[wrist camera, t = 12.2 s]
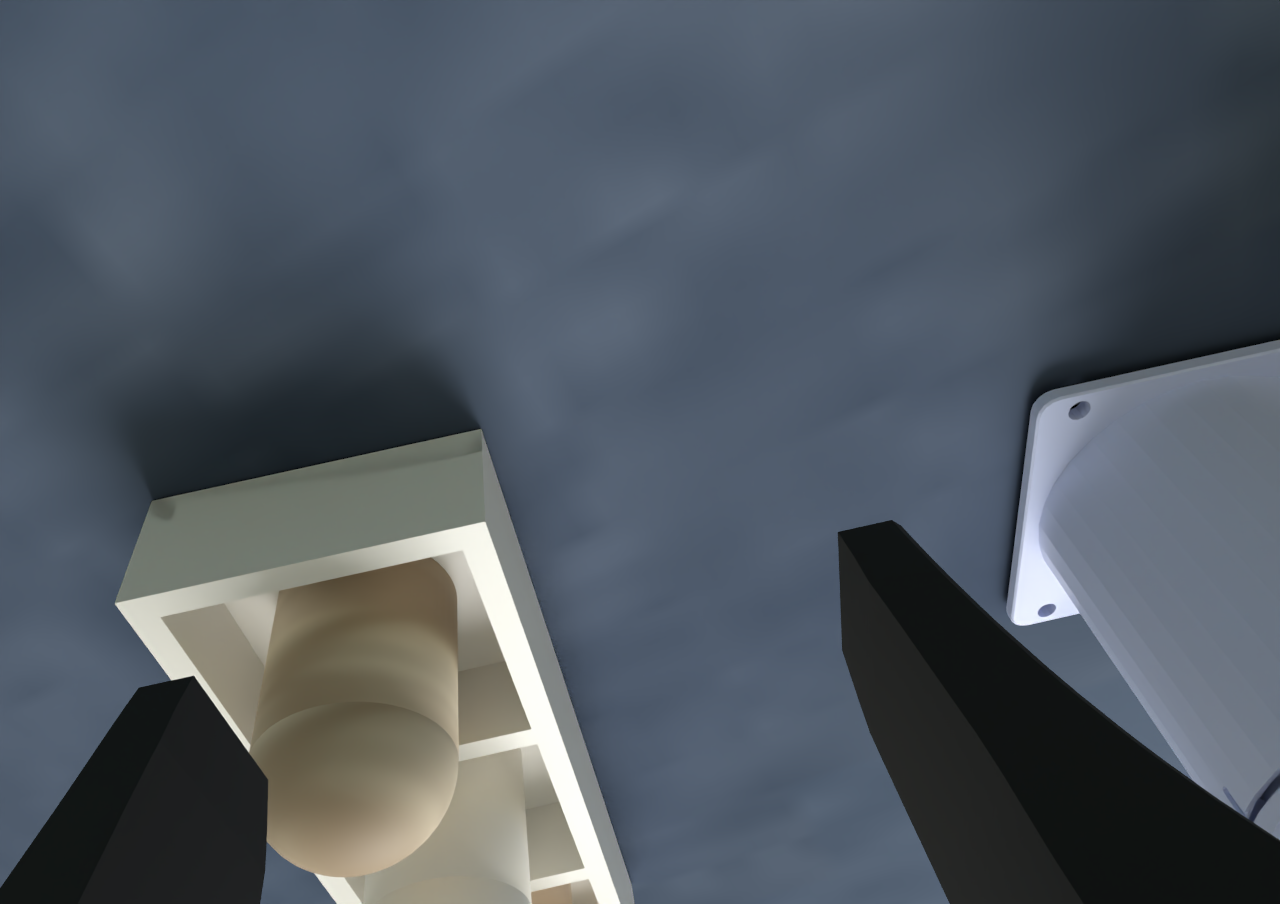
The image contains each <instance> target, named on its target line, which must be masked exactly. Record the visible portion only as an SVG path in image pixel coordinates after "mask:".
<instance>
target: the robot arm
mask: <svg viewBox="0 0 1280 904" xmlns="http://www.w3.org/2000/svg"><path fill="white" fill-rule="evenodd" d="M1079 402H1080V404H1079V405H1078V406H1076V407H1075V408H1073V409H1071V410H1070V408H1071V407H1072V406H1074V405H1075V404H1076V403H1079ZM838 547H839V574H840V601H841V628H842V651H843V654H844V657H845V660H846V663H847V666H848V669H849V672H850V675H851V678H852V681H853V684H854V687H855V690H856V693H857V696H858V699H859V702H860V705H861V708H862V711H863V713H864V716H865V719H866V722H867V725H868V728H869V731H870V733H871V736H872V738H873V740H874V742H875V744H876V747H877V749H878V751H879V753H880V755H881V758H882V760H883V762H884V764H885V766H886V768H887V770H888V773H889V775H890V777H891V779H892V781H893V783H894V786H895V788H896V790H897V792H898V794H899V796H900V799H901V801H902V803H903V805H904V807H905V809H906V811H907V813H908V816H909V818H910V820H911V822H912V824H913V826H914V828H915V830H916V833H917V835H918V837H919V839H920V841H921V843H922V845H923V848H924V850H925V852H926V854H927V856H928V858H929V860H930V862H931V865H932V867H933V869H934V871H935V873H936V875H937V877H938V879H939V882H940V884H941V886H942V888H943V890H944V892H945V894H946V897H947V899H948V901H949V903H950V904H1280V340H1276V341H1271V342H1267V343H1262V344H1258V345H1253V346H1249V347H1244V348H1240V349H1235V350H1231V351H1226V352H1221V353H1217V354H1212V355H1208V356H1203V357H1199V358H1194V359H1190V360H1185V361H1181V362H1176V363H1172V364H1167V365H1163V366H1158V367H1153V368H1149V369H1144V370H1140V371H1135V372H1131V373H1126V374H1122V375H1117V376H1113V377H1108V378H1104V379H1099V380H1095V381H1090V382H1086V383H1081V384H1076V385H1072V386H1067V387H1063V388H1058V389H1054V390H1051V391H1049V392H1046V393H1044V394H1043V395H1041V396H1040V397H1039V398H1038V399H1037V400H1036V401H1035V403H1034V404H1033V406H1032V409H1031V413H1030V421H1029V429H1028V437H1027V445H1026V454H1025V462H1024V470H1023V478H1022V486H1021V494H1020V502H1019V510H1018V518H1017V526H1016V534H1015V543H1014V551H1013V559H1012V567H1011V575H1010V583H1009V591H1008V599H1007V607H1006V610H1007V614H1008V616H1009V617H1010V619H1011V621H1012V622H1013V623H1014V624H1016V625H1021V626H1022V625H1030V624H1034V623H1039V622H1043V621H1048V620H1052V619H1057V618H1061V617H1065V616H1070V615H1074V614H1079V613H1080V614H1081V616H1082V617H1083V619H1084V620H1085V621H1086V623H1087V624H1088V626H1089V627H1090V629H1091V630H1092V632H1093V633H1094V635H1095V636H1096V638H1097V639H1098V641H1099V642H1100V644H1101V645H1102V647H1103V648H1104V650H1105V651H1106V652H1107V654H1108V655H1109V657H1110V658H1111V660H1112V661H1113V663H1114V664H1115V666H1116V667H1117V669H1118V670H1119V672H1120V673H1121V675H1122V676H1123V678H1124V679H1125V681H1126V682H1127V684H1128V685H1129V686H1130V688H1131V689H1132V691H1133V692H1134V694H1135V695H1136V697H1137V698H1138V700H1139V701H1140V703H1141V704H1142V706H1143V707H1144V709H1145V710H1146V712H1147V713H1148V715H1149V716H1150V717H1151V719H1152V720H1153V722H1154V723H1155V725H1156V726H1157V728H1158V729H1159V731H1160V732H1161V734H1162V735H1163V737H1164V738H1165V740H1166V741H1167V743H1168V744H1169V746H1170V747H1171V748H1172V750H1173V751H1174V753H1175V754H1176V756H1177V757H1178V759H1179V760H1180V762H1181V763H1182V765H1183V766H1184V768H1185V769H1186V771H1187V772H1188V774H1189V775H1190V777H1191V778H1192V779H1193V781H1192V780H1191V779H1189V778H1188V777H1187V776H1185V775H1184V774H1182V773H1181V772H1180V771H1178V770H1177V769H1175V768H1174V767H1172V766H1171V765H1170V764H1168V763H1167V762H1166V761H1164V760H1163V759H1162V758H1160V757H1159V756H1158V755H1156V754H1155V753H1154V752H1152V751H1151V750H1150V749H1148V748H1147V747H1146V746H1144V745H1143V744H1142V743H1140V742H1139V741H1138V740H1136V739H1135V738H1134V737H1133V736H1131V735H1130V734H1129V733H1127V732H1126V731H1125V730H1123V729H1122V728H1121V727H1120V726H1118V725H1117V724H1116V723H1115V722H1113V721H1112V720H1111V719H1110V718H1108V717H1107V716H1106V715H1105V714H1103V713H1102V712H1101V711H1100V710H1098V709H1097V708H1096V707H1095V706H1093V705H1092V704H1091V703H1090V702H1088V701H1087V700H1086V699H1085V698H1084V697H1082V696H1081V695H1080V694H1079V693H1077V692H1076V691H1075V690H1074V689H1073V688H1071V687H1070V686H1069V685H1068V684H1067V683H1065V682H1064V681H1063V680H1062V679H1061V678H1060V677H1058V676H1057V675H1056V674H1055V673H1054V672H1052V671H1051V670H1050V669H1049V668H1048V667H1047V666H1046V665H1044V664H1043V663H1042V662H1041V661H1040V660H1039V659H1038V658H1037V657H1035V656H1034V655H1033V654H1032V653H1031V652H1030V651H1029V650H1028V649H1027V648H1025V647H1024V646H1023V645H1022V644H1021V643H1020V642H1019V641H1018V640H1016V639H1015V638H1014V637H1013V636H1012V635H1011V634H1010V633H1009V632H1007V631H1006V630H1005V629H1004V628H1003V627H1002V626H1001V625H1000V624H999V623H998V622H996V621H995V620H994V619H993V618H992V617H991V616H990V615H989V614H988V613H987V612H986V611H985V610H984V609H983V608H982V607H980V606H979V605H978V604H977V603H976V602H975V601H974V600H973V599H972V598H971V597H970V596H969V595H968V594H967V593H966V592H965V591H964V590H963V589H962V588H961V587H960V586H959V585H958V584H957V583H956V582H955V581H954V580H953V579H952V578H951V577H950V576H949V575H948V574H947V573H946V572H945V571H944V570H943V569H942V568H941V567H940V566H939V565H938V564H937V563H936V562H935V561H934V560H933V559H932V558H931V557H930V556H929V555H928V554H927V553H926V552H925V551H924V550H923V549H922V548H921V547H920V546H919V544H918V543H917V542H916V541H915V540H914V539H913V538H912V537H911V536H910V535H909V534H908V533H907V532H906V531H905V529H904V528H903V527H902V526H901V525H899V524H897V523H896V522H894V521H892V520H890V521H885V522H881V523H876V524H872V525H868V526H863V527H859V528H854V529H850V530H845V531H841V532H838ZM267 814H268V779H267V777H266V776H265V775H264V773H263V772H262V770H261V769H260V768H259V766H258V765H257V763H256V762H255V761H254V759H253V758H252V756H251V755H250V754H249V752H248V751H247V749H246V748H245V747H244V745H243V744H242V742H241V741H240V740H239V738H238V737H237V735H236V734H235V733H234V731H233V730H232V728H231V727H230V726H229V724H228V723H227V721H226V720H225V718H224V717H223V716H222V714H221V713H220V711H219V710H218V709H217V707H216V706H215V704H214V703H213V702H212V700H211V699H210V697H209V696H208V695H207V693H206V692H205V690H204V689H203V688H202V686H201V685H200V683H199V682H198V681H197V679H196V678H195V676H190V677H185V678H181V679H176V680H172V681H167V682H163V683H158V684H154V685H149V686H145V687H140V688H138V690H137V691H136V693H135V694H134V695H133V697H132V698H131V700H130V701H129V702H128V704H127V705H126V707H125V708H124V709H123V711H122V712H121V714H120V715H119V717H118V718H117V719H116V721H115V722H114V724H113V725H112V727H111V728H110V730H109V731H108V733H107V734H106V736H105V737H104V739H103V740H102V741H101V743H100V744H99V746H98V747H97V749H96V750H95V752H94V753H93V755H92V756H91V758H90V759H89V761H88V762H87V764H86V765H85V767H84V768H83V770H82V771H81V773H80V774H79V776H78V777H77V778H76V780H75V781H74V783H73V784H72V786H71V787H70V789H69V790H68V792H67V793H66V795H65V796H64V798H63V799H62V801H61V802H60V803H59V805H58V806H57V808H56V809H55V811H54V812H53V814H52V815H51V816H50V818H49V819H48V821H47V822H46V824H45V825H44V826H43V828H42V829H41V831H40V832H39V834H38V835H37V836H36V838H35V839H34V841H33V842H32V844H31V845H30V846H29V848H28V849H27V851H26V852H25V854H24V855H23V857H22V858H21V859H20V861H19V862H18V864H17V865H16V867H15V868H14V869H13V871H12V872H11V874H10V875H9V877H8V878H7V879H6V881H5V882H4V884H3V885H2V886H1V888H0V904H260V900H261V894H262V887H263V880H264V874H265V860H266V842H267Z"/></svg>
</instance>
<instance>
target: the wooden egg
mask: <svg viewBox="0 0 1280 904" xmlns="http://www.w3.org/2000/svg"><path fill="white" fill-rule="evenodd" d="M249 754H250V755H251V756H252V758H253V759H254V761H255V762H256V763H257V765H258V766H259V768H260V769H261V770H262V772H263V773H264V775H265V776H266V777H267V779H268V814H267V842H268V843H269V844H270V845H271V846H272V847H273V848H274V849H275V850H276V851H277V852H278V853H279V854H280V855H281V856H282V857H283V858H285V859H286V860H288V861H289V862H291V863H293V864H294V865H296V866H298V867H300V868H302V869H304V870H307V871H310V872H313V873H316V874H319V875H324V876H330V877H357V876H363V875H368V874H371V873H375V872H378V871H380V870H383V869H386V868H388V867H390V866H393V865H395V864H396V863H398V862H400V861H401V860H403V859H404V858H406V857H408V856H409V855H410V854H412V853H413V852H414V851H415V850H416V849H418V848H419V847H420V846H421V845H422V844H423V843H424V842H425V841H426V840H427V839H428V838H429V837H430V835H431V834H432V833H433V832H434V830H435V829H436V828H437V827H438V825H439V824H440V822H441V820H442V818H443V817H444V815H445V813H446V811H447V809H448V807H449V805H450V802H451V800H452V797H453V794H454V791H455V786H456V782H457V776H458V763H459V732H458V621H457V592H456V589H455V586H454V583H453V581H452V579H451V577H450V576H449V575H448V573H447V572H446V570H445V569H444V568H443V567H442V566H441V565H440V564H439V563H438V562H436V561H435V560H434V559H432V558H431V557H430V558H425V559H421V560H416V561H412V562H407V563H403V564H398V565H394V566H389V567H385V568H380V569H376V570H371V571H367V572H362V573H357V574H353V575H348V576H344V577H339V578H335V579H330V580H326V581H321V582H317V583H312V584H308V585H303V586H299V587H294V588H290V589H285V590H281V591H279V595H278V600H277V606H276V611H275V616H274V622H273V627H272V632H271V638H270V643H269V648H268V654H267V659H266V664H265V670H264V675H263V681H262V686H261V691H260V697H259V702H258V707H257V713H256V718H255V723H254V729H253V734H252V739H251V745H250V750H249Z"/></svg>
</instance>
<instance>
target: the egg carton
mask: <svg viewBox="0 0 1280 904" xmlns="http://www.w3.org/2000/svg"><path fill="white" fill-rule="evenodd" d="M430 557H431V558H432V559H434V560H435V561H436V562H438V563H439V564H440V565H441V566H442V567H443V568H444V569H445V570H446V572H447V573H448V575H449V576H450V577H451V579H452V581H453V583H454V586H455V589H456V592H457V621H458V732H459V763H458V776H457V782H456V786H455V791H454V794H453V797H452V800H451V802H450V805H449V807H448V809H447V811H446V813H445V815H444V817H443V818H442V820H441V822H440V824H439V825H438V827H437V828H436V829H435V830H434V832H433V833H432V834H431V835H430V837H429V838H428V839H427V840H426V841H425V842H424V843H423V844H422V845H421V846H420V847H419V848H418V849H416V850H415V851H414V852H413V853H412V854H410V855H409V856H408V857H406V858H404V859H403V860H401V861H400V862H398V863H396V864H395V865H393V866H390V867H388V868H386V869H383V870H380V871H378V872H375V873H371V874H368V875H363V876H357V877H330V876H324V875H319V874H316V873H315V875H316V876H317V877H318V879H319V880H320V881H321V883H322V884H323V886H324V887H325V888H326V890H327V891H328V892H329V894H330V895H331V896H332V898H333V899H334V900H335V902H336V903H337V904H634V897H633V890H632V885H631V882H630V879H629V876H628V873H627V870H626V866H625V863H624V860H623V857H622V854H621V851H620V848H619V845H618V842H617V839H616V836H615V833H614V830H613V827H612V824H611V821H610V818H609V815H608V812H607V809H606V806H605V803H604V800H603V797H602V794H601V791H600V788H599V785H598V782H597V779H596V775H595V772H594V769H593V766H592V763H591V760H590V757H589V754H588V751H587V748H586V745H585V742H584V739H583V736H582V733H581V730H580V727H579V724H578V721H577V718H576V715H575V712H574V709H573V706H572V703H571V700H570V697H569V694H568V691H567V688H566V684H565V681H564V678H563V675H562V672H561V669H560V666H559V663H558V660H557V657H556V654H555V651H554V648H553V645H552V642H551V639H550V636H549V633H548V630H547V627H546V624H545V621H544V618H543V615H542V612H541V609H540V606H539V603H538V600H537V596H536V593H535V590H534V587H533V584H532V581H531V578H530V575H529V572H528V569H527V566H526V563H525V560H524V557H523V554H522V551H521V548H520V545H519V542H518V539H517V536H516V533H515V530H514V527H513V524H512V521H511V518H510V515H509V512H508V509H507V505H506V502H505V499H504V496H503V493H502V490H501V487H500V484H499V481H498V478H497V475H496V472H495V469H494V466H493V463H492V460H491V457H490V454H489V451H488V448H487V445H486V442H485V439H484V436H483V433H482V430H481V429H478V430H474V431H469V432H465V433H460V434H455V435H451V436H446V437H442V438H437V439H433V440H428V441H423V442H419V443H414V444H410V445H405V446H401V447H396V448H391V449H387V450H382V451H378V452H373V453H369V454H364V455H359V456H355V457H350V458H346V459H341V460H337V461H332V462H327V463H323V464H318V465H314V466H309V467H305V468H300V469H295V470H291V471H286V472H282V473H277V474H273V475H268V476H263V477H259V478H254V479H250V480H245V481H241V482H236V483H231V484H227V485H222V486H218V487H213V488H209V489H204V490H199V491H195V492H190V493H186V494H181V495H177V496H172V497H167V498H163V499H158V500H154V501H152V502H151V505H150V507H149V510H148V513H147V516H146V518H145V521H144V524H143V527H142V529H141V532H140V535H139V538H138V540H137V543H136V546H135V549H134V551H133V554H132V557H131V560H130V562H129V565H128V568H127V571H126V573H125V576H124V579H123V582H122V584H121V587H120V590H119V593H118V595H117V598H116V601H115V605H116V606H117V607H118V609H119V610H120V611H121V613H122V614H123V615H124V617H125V618H126V619H127V621H128V622H129V624H130V625H131V626H132V628H133V629H134V630H135V632H136V633H137V634H138V636H139V637H140V638H141V640H142V641H143V642H144V644H145V645H146V646H147V648H148V649H149V651H150V652H151V653H152V655H153V656H154V657H155V659H156V660H157V661H158V663H159V664H160V665H161V667H162V668H163V669H164V671H165V672H166V673H167V675H168V676H169V678H170V679H171V680H176V679H181V678H185V677H190V676H195V678H196V679H197V681H198V682H199V683H200V685H201V686H202V688H203V689H204V690H205V692H206V693H207V695H208V696H209V697H210V699H211V700H212V702H213V703H214V704H215V706H216V707H217V709H218V710H219V711H220V713H221V714H222V716H223V717H224V718H225V720H226V721H227V723H228V724H229V726H230V727H231V728H232V730H233V731H234V733H235V734H236V735H237V737H238V738H239V740H240V741H241V742H242V744H243V745H244V747H245V748H246V749H247V751H248V752H249V750H250V745H251V739H252V734H253V729H254V723H255V718H256V713H257V707H258V702H259V697H260V691H261V686H262V681H263V675H264V670H265V664H266V659H267V654H268V648H269V643H270V638H271V632H272V627H273V622H274V616H275V611H276V606H277V600H278V595H279V591H281V590H285V589H290V588H294V587H299V586H303V585H308V584H312V583H317V582H321V581H326V580H330V579H335V578H339V577H344V576H348V575H353V574H357V573H362V572H367V571H371V570H376V569H380V568H385V567H389V566H394V565H398V564H403V563H407V562H412V561H416V560H421V559H425V558H430Z"/></svg>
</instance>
